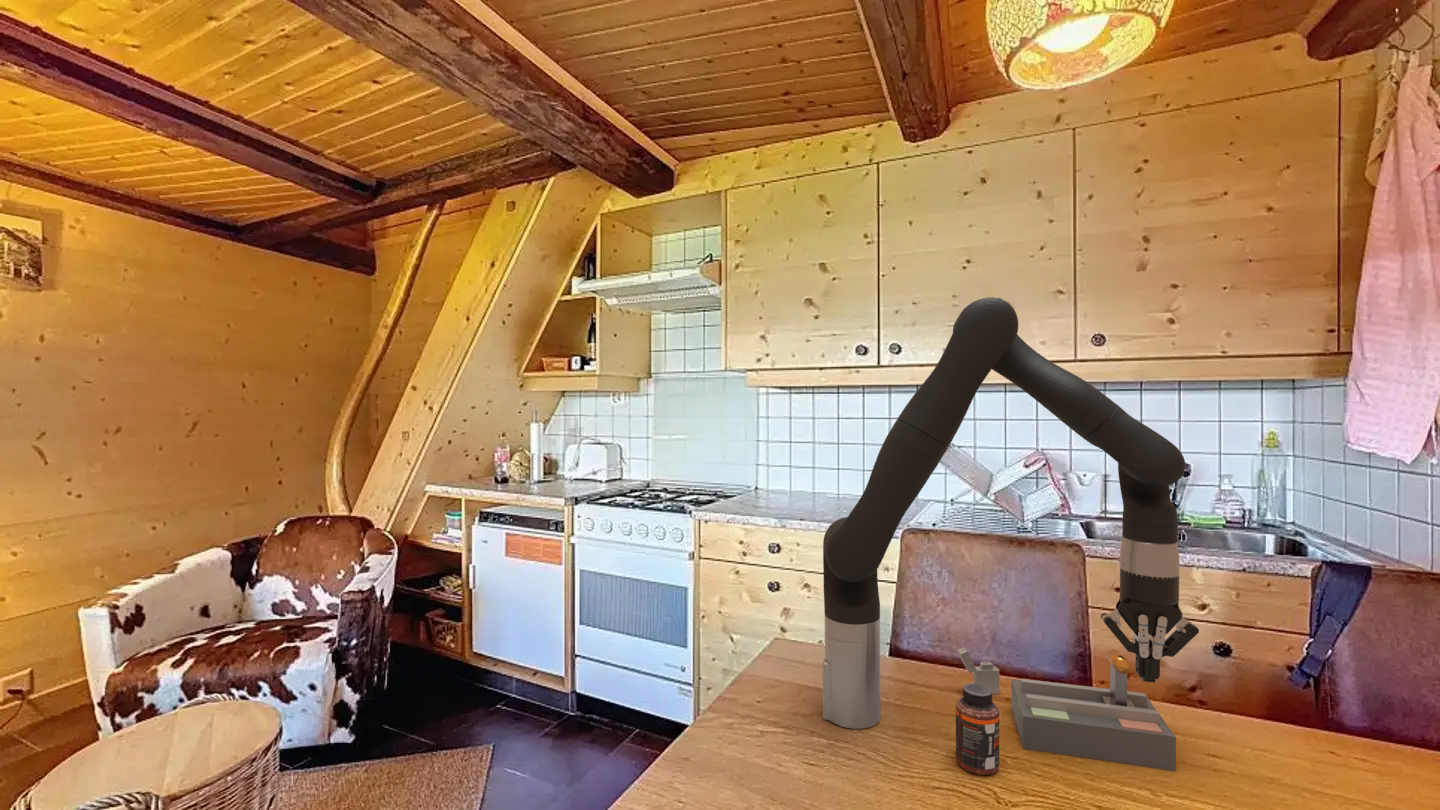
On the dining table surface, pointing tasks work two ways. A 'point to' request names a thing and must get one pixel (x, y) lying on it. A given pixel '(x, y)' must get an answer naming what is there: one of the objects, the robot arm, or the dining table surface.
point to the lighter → (981, 672)
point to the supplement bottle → (977, 730)
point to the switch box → (1091, 724)
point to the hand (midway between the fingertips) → (1147, 679)
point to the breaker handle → (1118, 680)
